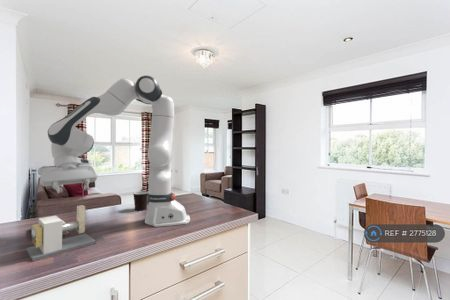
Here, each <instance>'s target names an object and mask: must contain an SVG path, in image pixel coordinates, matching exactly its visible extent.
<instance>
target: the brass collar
mask: <svg viewBox="0 0 450 300" xmlns="http://www.w3.org/2000/svg"><path fill="white" fill-rule="evenodd" d="M32 226H33V230H35V231H36V236H35V239H32V238H31V241H32V242H31V243H32V244H33V246H35V247H36V248H37V247H41V246H42V227H41V226H40V225H39V224H38V223H34V224H32Z"/></svg>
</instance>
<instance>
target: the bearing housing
mask: <svg viewBox="0 0 450 300" xmlns="http://www.w3.org/2000/svg"><path fill="white" fill-rule="evenodd" d="M62 220H63V219H61V218H59V216H58V215H50V216H45V217H39V218H38V223H37V224H39V225H40V226H41V227H42V246H41V247H37V248H36V247H35V246H34V245H32V246H30V247H26V252H27V254H28V256H29V258H30V260H31V262H35V261H39V260H42V259H46V258H49V257H53V256H57V255H59V254H60V255H61V254H63V253H67V252H71V251H74V250H77V249H81V248H85V247H87V246H91V245H95V244H97V241H96V240H95V239H94V238H93V237H91V236H90V235H89V234H87V233H85V232H84V233H80V234H78V235H74V236H70V237H66V238H63V235H62Z"/></svg>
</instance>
